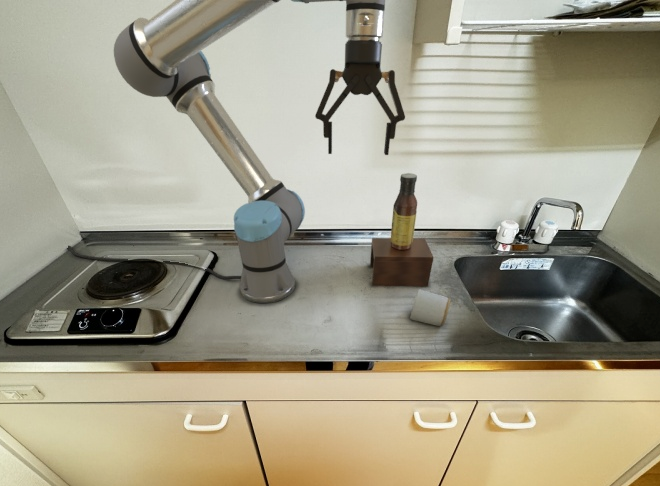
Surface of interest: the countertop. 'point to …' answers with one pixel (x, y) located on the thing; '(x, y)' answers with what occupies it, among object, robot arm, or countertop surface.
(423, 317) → the white cylinder
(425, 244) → the wooden brown block
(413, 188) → the sauce bottle
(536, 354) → the countertop surface
